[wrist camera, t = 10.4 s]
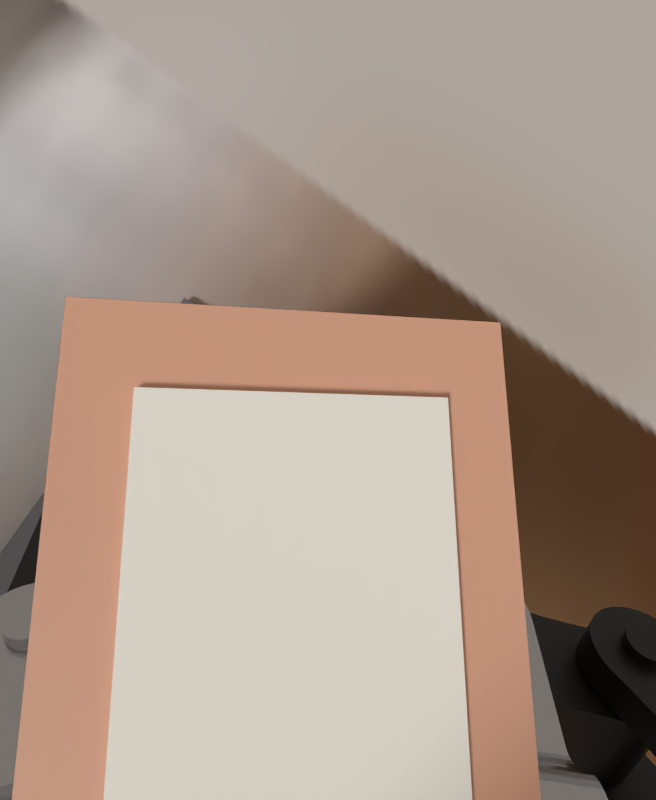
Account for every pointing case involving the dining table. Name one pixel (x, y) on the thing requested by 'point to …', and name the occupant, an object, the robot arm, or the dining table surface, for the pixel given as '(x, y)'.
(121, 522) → the tan rectangular block
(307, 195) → the dining table surface
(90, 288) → the dining table surface
